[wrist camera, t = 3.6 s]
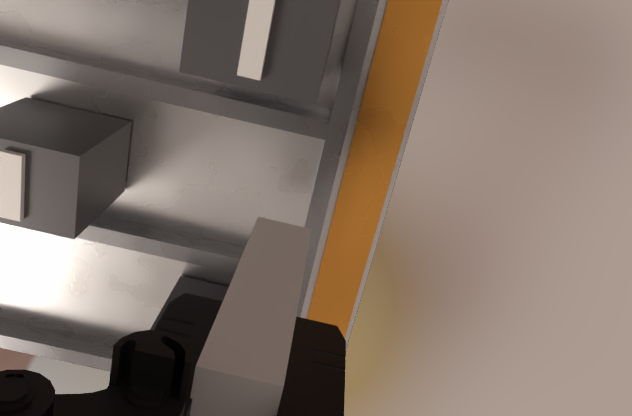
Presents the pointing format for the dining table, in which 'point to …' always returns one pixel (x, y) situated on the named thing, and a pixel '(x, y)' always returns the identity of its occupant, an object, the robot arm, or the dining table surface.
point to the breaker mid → (59, 166)
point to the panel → (204, 165)
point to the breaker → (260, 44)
